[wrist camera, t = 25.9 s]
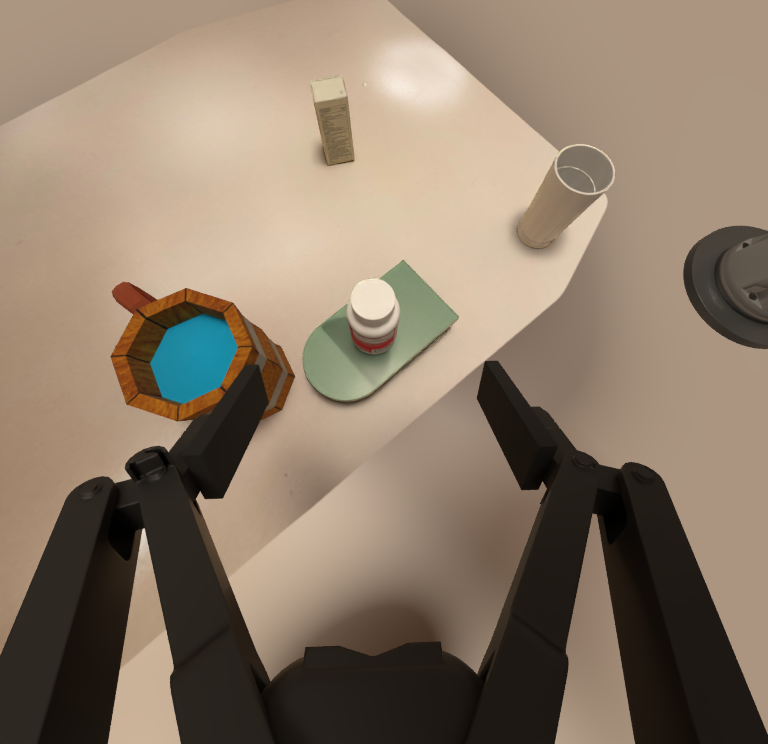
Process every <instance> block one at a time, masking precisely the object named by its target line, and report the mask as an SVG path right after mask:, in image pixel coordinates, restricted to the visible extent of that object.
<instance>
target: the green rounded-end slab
mask: <svg viewBox="0 0 768 744" xmlns="http://www.w3.org/2000/svg"><path fill="white" fill-rule="evenodd" d="M380 280H383V281H385V282H386V283H388V284H389V285H390V286H391V288H392V289H393V291H394V294H395V297H396V299H397V301H398V303H399V306H400V318H399V323H398V329H397V334H396V339H395V341H394V343H393V345H392V346H391V347H390V348H389V349H388V350H387V351H385V352H383V353H381V354H375V355H373V354H367V353H365V352H363V351H361V350H360V349H359V348H358V347H357V346H356V345H355V343H354V341H353V338H352V335H351V331H350V327H349V323H348V320H347V313H346V310H347V305H345V306H344V307H343V308H341V309H340V310H339V311H338V312H336V313H335V314H334V315H332V316H331V317H330V318H329V319H327V320H326V321H325V322H324V323H322V324H321V325H320V326H319V327H318V328H316V329H315V330H314V331H313V333H312V334H311V335H310V337H309V338H308V340H307V342H306V344H305V347H304V351H303V367H304V371H305V374H306V377H307V378H308V380H309V382H310V383H311V385H312V386H313V387H314V388H315V389H316V390H317V391H319V392H320V393H321V394H323V395H324V396H326V397H328V398H330V399H333V400H336V401H343V402H350V401H356V400H360V399H363V398H365V397H367V396H369V395H371V394H372V393H373V392H375V391H376V390H377V389H378V388H379V387H380V386H382V385H383V384H384V383H385V382H386V381H387V380H389V379H390V378H391V377H392V376H393V375H394V374H396V373H397V372H398V371H399V370H400V369H401V368H403V367H404V366H405V365H406V364H407V363H408V362H410V361H411V360H412V359H413V358H414V357H415V356H416V355H418V354H419V353H420V352H421V351H422V350H423V349H425V348H426V347H427V346H428V345H429V344H430V343H432V342H433V341H434V340H435V339H436V338H437V337H439V336H440V335H441V334H442V333H443V332H444V331H446V330H447V329H448V328H449V327H450V326H451V325H453V324H454V323H455V322H456V321H457V320H458V318H459V316H458V315H457V314H456V313H455V312H454V311H453V310H452V309H451V308H450V307H449V306H448V305H447V304H446V303H445V302H444V301H443V300H442V299H441V298H440V297H439V296H438V295H437V294H436V293H435V292H434V291H433V290H432V289H431V288H430V287H429V286H428V284H427V283H426V282H425V281H424V280H423V279H422V278H421V277H420V276H419V275H418V274H417V273H416V272H415V271H414V270H413V269H412V268H411V267H410V266H409V265H408V264H407V263H406V262H405V261H404V260H403V261H401V262H400V263H399V264H398V265H396V266H395V267H394V268H393V269H391V270H390V271H389V272H387V273H386V274H385V275H384V276H382V277H381V278H380Z"/></svg>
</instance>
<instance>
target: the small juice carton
mask: <svg viewBox="0 0 768 744" xmlns="http://www.w3.org/2000/svg"><path fill="white" fill-rule="evenodd" d="M310 85H311V91H312V96H313V101H314V106H315V110H316V115H317V120H318V125H319V129H320V134H321V138H322V143H323V148H324V152H325V157H326V161H327V165H331V164H337V163H342V162H347V161H351V160H354V151H353V141H352V132H351V123H350V114H349V105H348V96H347V91H346V87H345V83H344V80H343V77H342V76H341V75H340V76H335V77H329V78H323V79H317V80H313V81H310Z"/></svg>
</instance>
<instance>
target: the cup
mask: <svg viewBox="0 0 768 744" xmlns="http://www.w3.org/2000/svg"><path fill="white" fill-rule="evenodd" d="M614 179H615V168H614V165H613V163H612V161H611V160H610V158H609V157H608V156H607V155H606V154H605V153H604V152H602V151H601V150H599V149H597V148H595V147H593V146H590V145H585V144H574V145H570V146H567V147H565V148H564V149H562V150H561V151H560V152H559V153H558V154H557V156H556V158H555V160H554V162H553V164H552V165H551V167H550V169H549V171H548V173H547V175H546V177H545V179H544V181H543V183H542V184H541V186H540V188H539V190H538V192H537V193H536V195H535V197H534V199H533V201H532V202H531V204H530V206H529V208H528V210H527V211H526V213H525V215H524V217H523V218H522V220H521V221H520V223H519V224H518V228H517V232H518V236H519V238H520V239H521V241H522V242H523V243H525V244H526V245H528V246H530V247H533V248H543V247H546V246H548V245H549V244H550V243H551V242H552V241H553V240H554V239H555V238H556V237H557V236H558V235H559V234H560V233H561V232H562V231H563V230H564V229H566V228H567V227H568V226H569V225H570V224H571V223H572V222H573V221H574V220H575V219H576V218H577V217H578V216H579V215H580V214H582V213H583V212H584V211H585V210H586V209H587V208H588V207H589V206H590V205H591V204H592V203H593V202H594V201H596V200H597V199H598V198H599V197H600V196H601V195H602V194H603V193H604V192H605V191H607V190H608V188H610V187H611V185H612V184H613V182H614Z"/></svg>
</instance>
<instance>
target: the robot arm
mask: <svg viewBox="0 0 768 744" xmlns="http://www.w3.org/2000/svg"><path fill="white" fill-rule="evenodd" d="M715 281H716V284H717V287H718V290H719V292H720V293H721V295H722V297H723V298H724V300H725V301H726V302H727V303H728V304H729V305H730V306H731V307H732V308H733V309H734V310H735V311H736V312H738V313H739V314H741V315H742V316H744V317H746V318H748V319H750V320H752V321H755V322H758V323H763V324H768V234H765V235H761V236H758V237H754V238H750V239H748V240H745V241H743V242H740V243H738V244H736V245H734V246H732V247H730V248H729V249H727V250H725V251H724V252H723V253H722V254H721V255H720V257H719V258H718V260H717V262H716V266H715ZM477 400H478V402H479V404H480V406H481V408H482V410H483V412H484V414H485V416H486V418H487V420H488V422H489V424H490V426H491V428H492V430H493V433H494V435H495V437H496V439H497V441H498V443H499V445H500V447H501V449H502V451H503V453H504V455H505V457H506V459H507V461H508V463H509V465H510V467H511V469H512V471H513V473H514V476H515V478H516V480H517V482H518V484H519V486H520V488H521V490H538V489H539V487H540V485H541V483H542V481H543V482H544V484H545V486H546V488H547V490H546V492H545V494H544V496H543V498H542V501H541V503H540V504H541V506H540V508H539V511H538V514H537V517H536V519H535V522H534V525H533V527H532V530H531V533H530V536H529V538H528V541H527V544H526V546H525V549H524V552H523V555H522V558H521V560H520V563H519V566H518V568H517V571H516V574H515V577H514V579H513V582H512V585H511V587H510V591H509V593H508V596H507V598H506V601H505V604H504V607H503V609H502V612H501V615H500V618H499V620H498V623H497V626H496V628H495V631H494V634H493V637H492V640H491V642H490V645H489V647H488V649H487V651H486V654H485V656H484V658H483V661H482V663H481V666H480V668H479V671H478V674H476V673H475V672H474V671H473V670H472V669H471V668H470V667H469V666H468V665H467V664H465V663H464V662H463V661H461V660H460V659H459V658H457V657H455V656H453V655H451V654H449V653H447V652H444V651H442V648H441V642H420V643H419V642H418V643H407V644H404V645H402V646H399V647H397V648H394V649H392V650H389V651H387V652H385V653H382V654H380V655H377V656H369V655H366V654H363V653H360V652H356V651H353V650H350V649H347V648H344V647H341V646H323V647H306V648H305V654H304V657H303V658H300V659H298V660H296V661H295V662H293V663H291V664H290V665H288V666H287V667H286V668H284V669H283V670H282V671H281V672H280V673H279V674H278V675H277V676H275V677H274V679H273V680H272V681H271V682H270V680H269V677H268V675H267V672H266V670H265V668H264V666H263V664H262V662H261V660H260V658H259V656H258V654H257V652H256V649H255V646H254V644H253V641H252V639H251V637H250V634H249V631H248V629H247V626H246V624H245V621H244V619H243V616H242V614H241V611H240V608H239V606H238V603H237V601H236V599H235V596H234V593H233V591H232V588H231V586H230V583H229V581H228V578H227V576H226V573H225V571H224V568H223V565H222V563H221V560H220V558H219V555H218V553H217V550H216V548H215V545H214V543H213V540H212V538H211V535H210V533H209V530H208V528H207V525H206V522H205V520H204V517H203V515H202V512H201V510H200V507H199V505H198V503H197V501H196V497H197V496H198V494H199V492H200V491H201V493H202V495H203V496H204V498H205V499H221V498H223V497H224V495H225V493H226V491H227V489H228V487H229V485H230V482H231V480H232V478H233V476H234V474H235V472H236V470H237V468H238V466H239V464H240V462H241V459H242V457H243V455H244V453H245V451H246V449H247V447H248V445H249V443H250V441H251V439H252V437H253V434H254V432H255V430H256V428H257V426H258V424H259V422H260V420H261V418H262V416H263V414H264V411H265V409H266V407H267V405H268V403H269V400H268V397H267V393H266V389H265V386H264V382H263V378H262V375H261V371H260V367H259V365H245V366H244V367H243V369H242V370H241V371H240V373H239V374H238V376H237V377H236V378H235V380H234V381H233V383H232V384H231V385H230V387H229V388H228V390H227V391H226V392H225V394H224V395H223V397H222V398H221V399H220V401H219V402H218V404H217V405H216V406H215V408H214V409H213V411H212V412H211V414H202V415H200V416H199V417H197V418H196V419H195V420H193V421H192V422H191V424H190V425H189V426H188V428H187V429H186V431H185V432H184V433H183V434H182V436H181V438H179V439H178V441H177V442H176V443H175V445H174V446H173V447H172V449H171V450H170V451H169V453H168V451H167V450H166V449H165V447H161V446H154V447H149V448H146V449H143V450H142V451H140V452H138V453H136V454H135V455H134V456H132V457H131V458H130V459H129V460H128V462H127V463H126V465H125V470H126V471H127V473H128V474H129V475H130V477H131V478H132V479H130V480H126V481H122V482H118V483H114V482H113V480H112V479H110V478H109V477H104V476H102V477H97V478H93V479H91V480H88V481H86V482H84V483H82V484H81V485H79V486H78V487H76V488H75V489H74V490H73V491H72V492H71V493H70V494H69V495H68V497H67V498H66V500H65V503H64V505H63V507H62V510H61V512H60V515H59V517H58V519H57V522H56V524H55V526H54V529H53V531H52V534H51V536H50V538H49V541H48V543H47V546H46V548H45V550H44V553H43V555H42V558H41V560H40V562H39V565H38V567H37V569H36V572H35V574H34V577H33V579H32V581H31V584H30V586H29V589H28V591H27V593H26V596H25V598H24V600H23V603H22V605H21V608H20V610H19V612H18V615H17V617H16V620H15V622H14V624H13V627H12V629H11V631H10V634H9V636H8V639H7V641H6V643H5V646H4V648H3V651H2V653H1V655H0V744H108V739H109V732H110V725H111V720H112V714H113V707H114V701H115V695H116V689H117V682H118V676H119V670H120V664H121V658H122V652H123V645H124V639H125V633H126V627H127V621H128V614H129V608H130V602H131V596H132V590H133V583H134V577H135V571H136V565H137V559H138V552H139V546H140V540H141V534H142V529H143V528H145V531H146V536H147V541H148V545H149V550H150V555H151V560H152V564H153V569H154V574H155V578H156V583H157V588H158V593H159V597H160V602H161V607H162V611H163V616H164V621H165V626H166V630H167V635H168V640H169V644H170V649H171V654H172V659H173V664H174V671H173V673H172V674H171V676H170V688H171V695H172V699H173V705H174V710H175V715H176V720H177V725H178V730H179V735H180V741H181V744H555V739H556V733H557V727H558V722H559V717H560V712H561V706H562V701H563V695H564V690H565V684H566V679H567V673H568V657H567V655H566V644H567V638H568V633H569V629H570V624H571V619H572V614H573V609H574V603H575V598H576V593H577V588H578V583H579V578H580V573H581V568H582V563H583V558H584V553H585V548H586V543H587V538H588V533H589V528H590V523H591V518H592V513H593V514H597V517H598V523H599V529H600V534H601V541H602V547H603V553H604V559H605V565H606V571H607V577H608V583H609V589H610V595H611V602H612V607H613V614H614V620H615V625H616V632H617V638H618V644H619V649H620V656H621V661H622V668H623V673H624V680H625V686H626V692H627V698H628V704H629V710H630V716H631V722H632V728H633V734H634V740H635V744H768V734H767V732H766V729H765V727H764V724H763V722H762V720H761V717H760V715H759V712H758V710H757V707H756V705H755V703H754V700H753V698H752V695H751V693H750V690H749V688H748V685H747V683H746V681H745V678H744V676H743V673H742V671H741V668H740V666H739V664H738V661H737V659H736V656H735V654H734V651H733V649H732V646H731V644H730V642H729V639H728V637H727V634H726V632H725V629H724V627H723V624H722V622H721V619H720V617H719V615H718V612H717V610H716V607H715V605H714V602H713V600H712V598H711V595H710V593H709V590H708V588H707V585H706V583H705V580H704V578H703V576H702V573H701V571H700V568H699V566H698V563H697V561H696V558H695V556H694V554H693V551H692V549H691V546H690V544H689V542H688V539H687V537H686V534H685V532H684V529H683V527H682V524H681V522H680V519H679V517H678V515H677V512H676V510H675V507H674V505H673V502H672V500H671V497H670V495H669V493H668V490H667V488H666V485H665V483H664V481H663V480H662V478H661V477H660V476H659V475H658V474H657V473H656V472H655V471H654V470H652V469H650V468H649V467H647V466H644V465H642V464H639V463H634V462H629V463H625V464H624V465H623V466H622V468H621V469H616V468H612V467H607V466H603V465H599V464H598V462H597V461H596V460H595V459H594V458H593V457H592V456H590V455H588V454H586V453H584V452H581V451H578V450H576V448H575V447H574V446H573V445H572V443H571V442H570V441H569V439H568V438H567V437H566V436H565V434H564V433H563V431H562V430H561V429H559V426H558V425H557V424H556V422H554V420H553V419H552V417H551V416H550V415H549V413H547V412H546V411H545V410H543V409H542V408H541V407H530V405H529V404H528V403H527V401H526V400H525V398H524V397H523V396H522V394H521V393H520V391H519V390H518V388H517V387H516V386H515V384H514V383H513V381H512V380H511V379H510V377H509V376H508V374H507V373H506V372H505V370H504V369H503V367H502V366H501V365H500V363H499V362H498V361H485V363H484V368H483V372H482V377H481V381H480V386H479V391H478V395H477Z"/></svg>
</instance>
